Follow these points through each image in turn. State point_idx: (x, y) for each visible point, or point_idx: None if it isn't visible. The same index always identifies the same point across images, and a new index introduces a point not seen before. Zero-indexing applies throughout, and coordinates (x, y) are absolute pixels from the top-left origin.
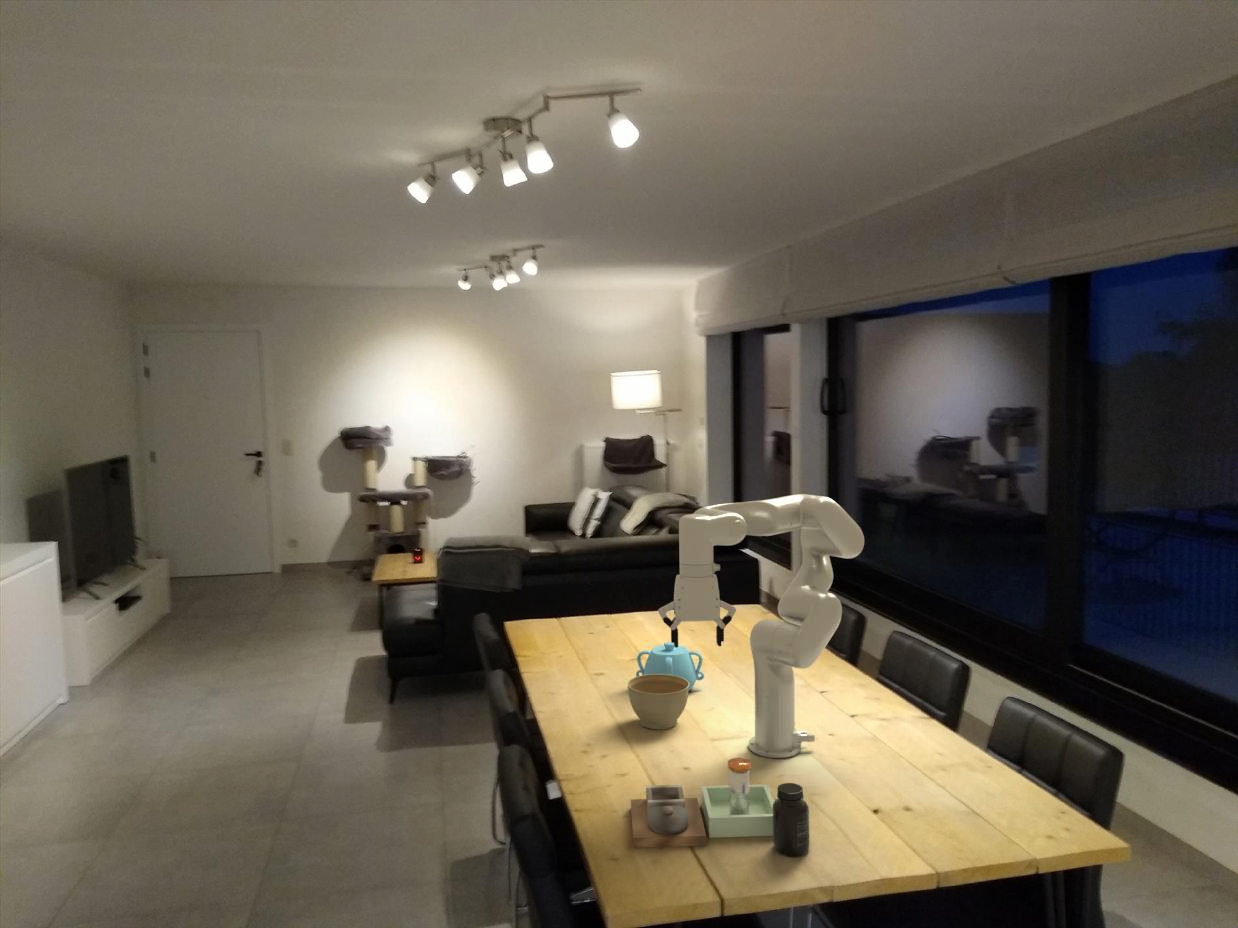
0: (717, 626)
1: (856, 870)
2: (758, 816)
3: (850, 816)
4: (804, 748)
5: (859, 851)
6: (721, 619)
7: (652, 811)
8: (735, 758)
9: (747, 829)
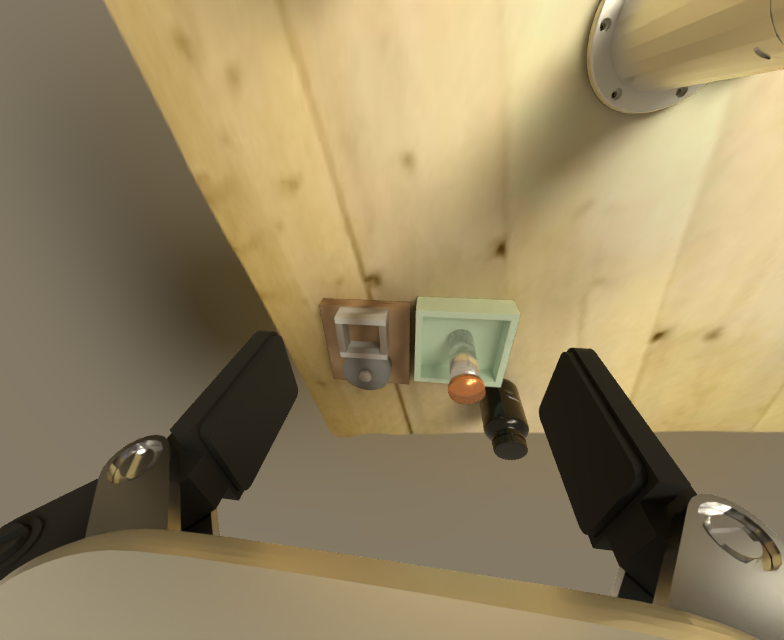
0: (638, 495)
1: None
2: None
3: (610, 344)
4: None
5: None
6: (782, 611)
7: (348, 368)
8: (464, 381)
9: None
